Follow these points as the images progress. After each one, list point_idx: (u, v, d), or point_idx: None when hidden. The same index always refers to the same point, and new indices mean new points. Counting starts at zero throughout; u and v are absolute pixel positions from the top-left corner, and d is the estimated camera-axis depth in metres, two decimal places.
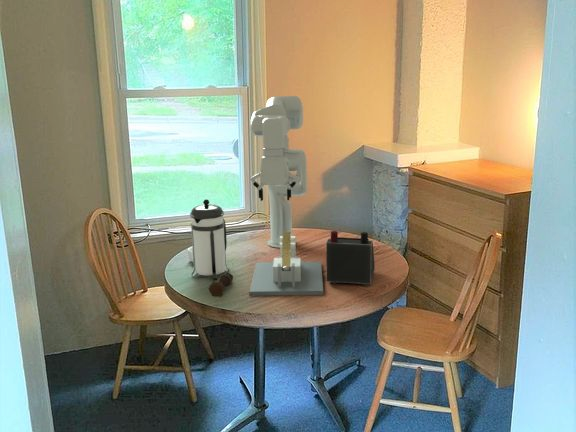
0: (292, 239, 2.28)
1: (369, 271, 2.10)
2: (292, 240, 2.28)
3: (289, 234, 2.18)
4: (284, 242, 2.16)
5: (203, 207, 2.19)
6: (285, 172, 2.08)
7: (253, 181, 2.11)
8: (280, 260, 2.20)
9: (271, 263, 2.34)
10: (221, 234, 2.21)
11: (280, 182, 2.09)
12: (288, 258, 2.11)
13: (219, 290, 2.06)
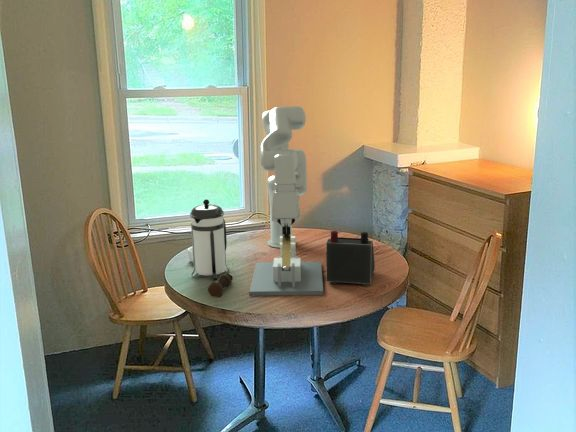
0: (292, 239, 2.28)
1: (369, 271, 2.10)
2: (292, 240, 2.28)
3: (289, 234, 2.18)
4: (284, 242, 2.16)
5: (203, 207, 2.19)
6: (296, 206, 2.12)
7: (275, 220, 2.15)
8: (280, 260, 2.20)
9: (271, 263, 2.34)
10: (221, 234, 2.21)
11: (291, 216, 2.13)
12: (288, 258, 2.11)
13: (218, 291, 2.05)
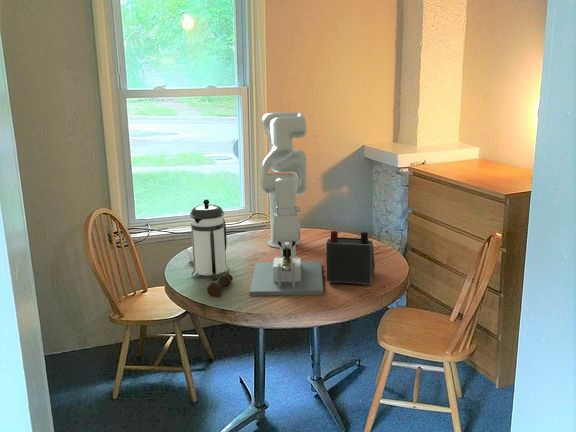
0: None
1: (369, 271, 2.10)
2: None
3: None
4: None
5: (203, 207, 2.19)
6: (297, 229, 2.14)
7: (276, 242, 2.17)
8: (280, 260, 2.20)
9: (271, 263, 2.34)
10: (221, 234, 2.21)
11: (292, 239, 2.15)
12: (288, 263, 2.13)
13: (217, 291, 2.05)
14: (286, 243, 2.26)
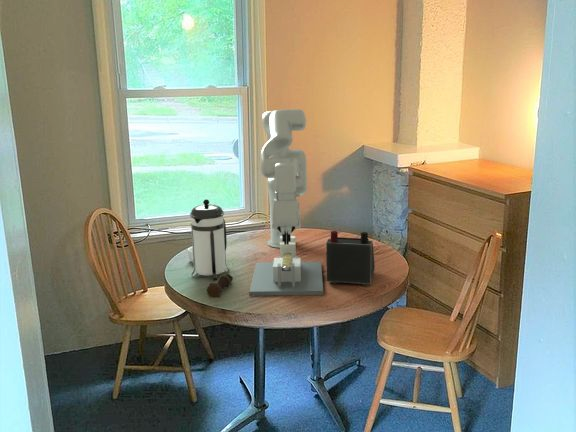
0: (292, 239, 2.28)
1: (369, 271, 2.10)
2: (292, 240, 2.28)
3: (290, 254, 2.23)
4: (285, 257, 2.20)
5: (203, 207, 2.19)
6: (297, 215, 2.13)
7: (276, 227, 2.16)
8: (280, 260, 2.20)
9: (271, 263, 2.34)
10: (221, 234, 2.21)
11: (292, 224, 2.14)
12: (288, 263, 2.13)
13: (217, 292, 2.05)
14: (286, 243, 2.26)
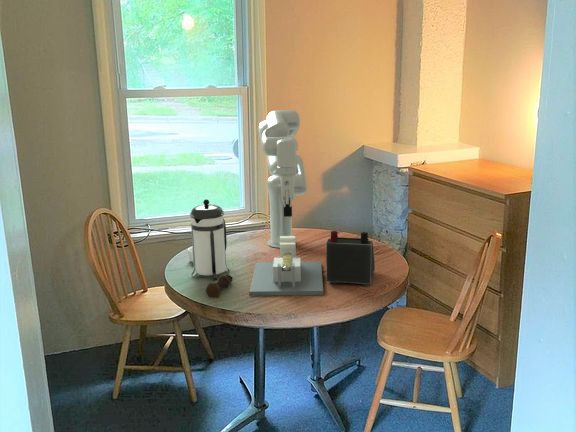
0: (292, 239, 2.28)
1: (369, 271, 2.10)
2: (292, 240, 2.28)
3: (290, 254, 2.23)
4: (285, 257, 2.20)
5: (203, 207, 2.19)
6: (281, 189, 2.28)
7: None
8: (280, 260, 2.20)
9: (271, 263, 2.34)
10: (221, 234, 2.21)
11: (282, 197, 2.31)
12: (288, 263, 2.13)
13: (216, 292, 2.04)
14: (286, 243, 2.26)
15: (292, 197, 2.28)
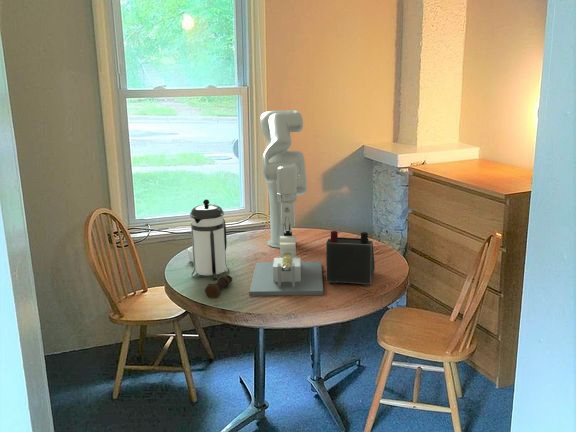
0: (292, 239, 2.28)
1: (369, 271, 2.10)
2: (292, 240, 2.28)
3: (290, 254, 2.23)
4: (285, 257, 2.20)
5: (203, 207, 2.19)
6: (281, 216, 2.27)
7: None
8: (280, 260, 2.20)
9: (271, 263, 2.34)
10: (221, 234, 2.21)
11: None
12: (288, 263, 2.13)
13: (215, 292, 2.04)
14: (286, 243, 2.26)
15: (292, 224, 2.27)
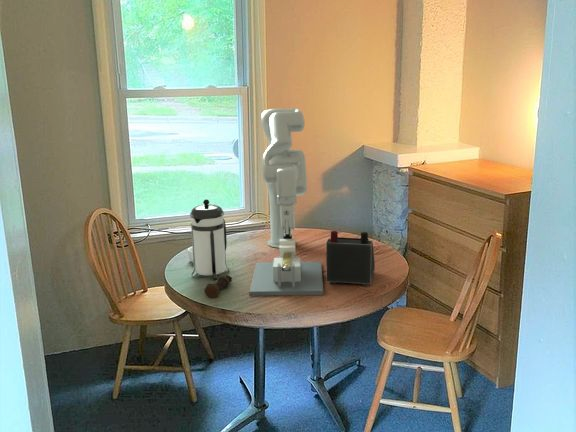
0: (292, 242, 2.24)
1: (369, 271, 2.10)
2: (292, 243, 2.24)
3: (290, 254, 2.23)
4: (285, 257, 2.20)
5: (203, 207, 2.19)
6: (281, 219, 2.23)
7: None
8: (280, 260, 2.20)
9: (271, 263, 2.34)
10: (221, 234, 2.21)
11: None
12: (288, 263, 2.13)
13: (214, 292, 2.04)
14: (286, 246, 2.22)
15: (292, 227, 2.23)
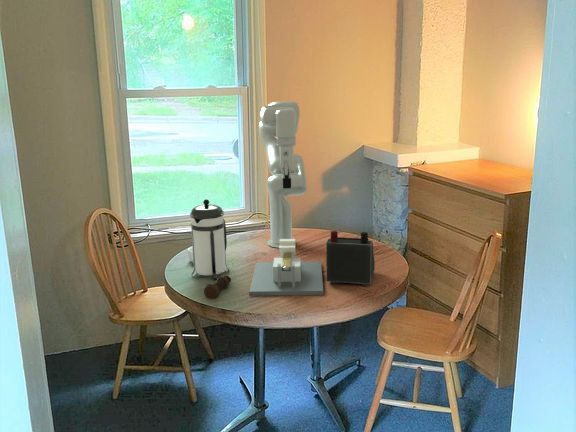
0: (292, 242, 2.24)
1: (369, 271, 2.10)
2: (292, 243, 2.24)
3: (290, 254, 2.23)
4: (285, 257, 2.20)
5: (203, 207, 2.19)
6: (280, 160, 2.25)
7: None
8: (280, 260, 2.20)
9: (271, 263, 2.34)
10: (221, 234, 2.21)
11: None
12: (288, 263, 2.13)
13: (214, 293, 2.03)
14: (286, 246, 2.22)
15: (291, 168, 2.25)
